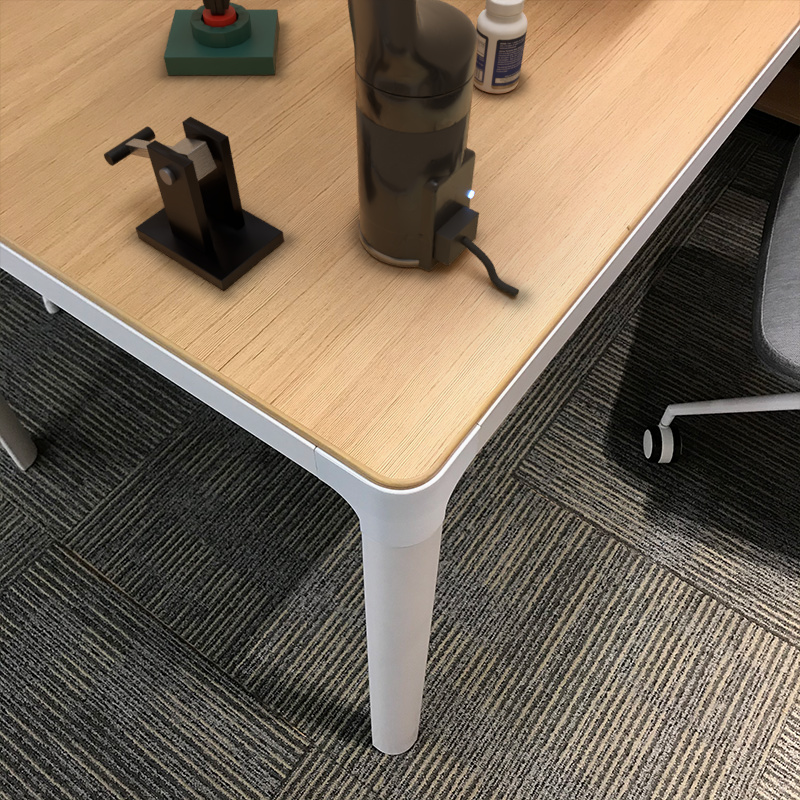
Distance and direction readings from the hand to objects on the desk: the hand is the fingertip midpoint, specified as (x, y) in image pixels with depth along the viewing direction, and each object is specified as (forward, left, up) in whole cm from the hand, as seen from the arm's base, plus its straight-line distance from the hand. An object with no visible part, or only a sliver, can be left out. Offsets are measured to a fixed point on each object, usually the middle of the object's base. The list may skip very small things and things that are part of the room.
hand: (219, 11), depth 86 cm
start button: (0, 0, -2) cm, 2 cm away
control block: (0, 0, -5) cm, 5 cm away
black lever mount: (-21, +24, -5) cm, 32 cm away
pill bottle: (-28, -14, -5) cm, 32 cm away
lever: (-17, +24, +2) cm, 29 cm away
